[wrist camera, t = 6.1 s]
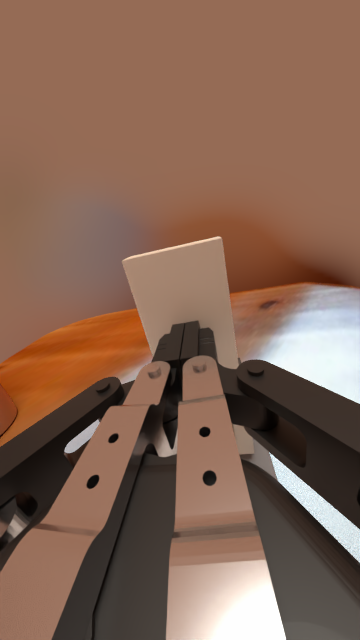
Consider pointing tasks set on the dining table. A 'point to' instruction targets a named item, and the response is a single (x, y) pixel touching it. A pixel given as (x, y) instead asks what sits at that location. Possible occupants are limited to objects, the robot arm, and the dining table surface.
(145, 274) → the peach lever handle
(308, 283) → the dining table surface
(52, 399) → the dining table surface
